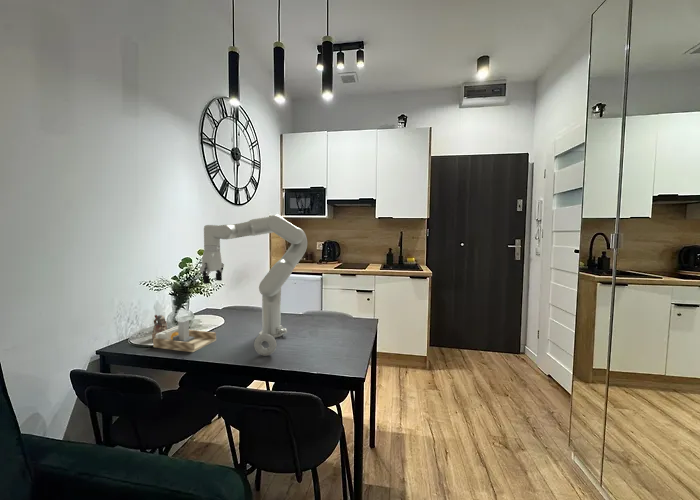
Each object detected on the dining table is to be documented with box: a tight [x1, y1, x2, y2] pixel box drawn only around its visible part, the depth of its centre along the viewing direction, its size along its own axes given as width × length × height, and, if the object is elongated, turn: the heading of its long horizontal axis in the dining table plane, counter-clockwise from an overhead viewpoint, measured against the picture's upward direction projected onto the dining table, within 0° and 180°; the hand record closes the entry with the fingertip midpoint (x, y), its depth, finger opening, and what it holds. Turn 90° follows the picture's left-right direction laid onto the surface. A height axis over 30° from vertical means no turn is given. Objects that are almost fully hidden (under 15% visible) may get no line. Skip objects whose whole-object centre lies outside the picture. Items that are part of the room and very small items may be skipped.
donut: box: [253, 334, 277, 357], centre depth 143 cm, size 10×4×10 cm, turn 87°
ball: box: [171, 332, 179, 340], centre depth 157 cm, size 4×4×4 cm
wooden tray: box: [152, 329, 217, 353], centre depth 156 cm, size 22×16×4 cm
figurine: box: [151, 314, 168, 340], centre depth 163 cm, size 7×7×12 cm
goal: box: [156, 325, 178, 340], centre depth 158 cm, size 6×14×6 cm, turn 165°
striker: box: [173, 319, 194, 342], centre depth 156 cm, size 5×8×10 cm, turn 165°
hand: (212, 281), depth 166 cm, fingers open, 9 cm apart
